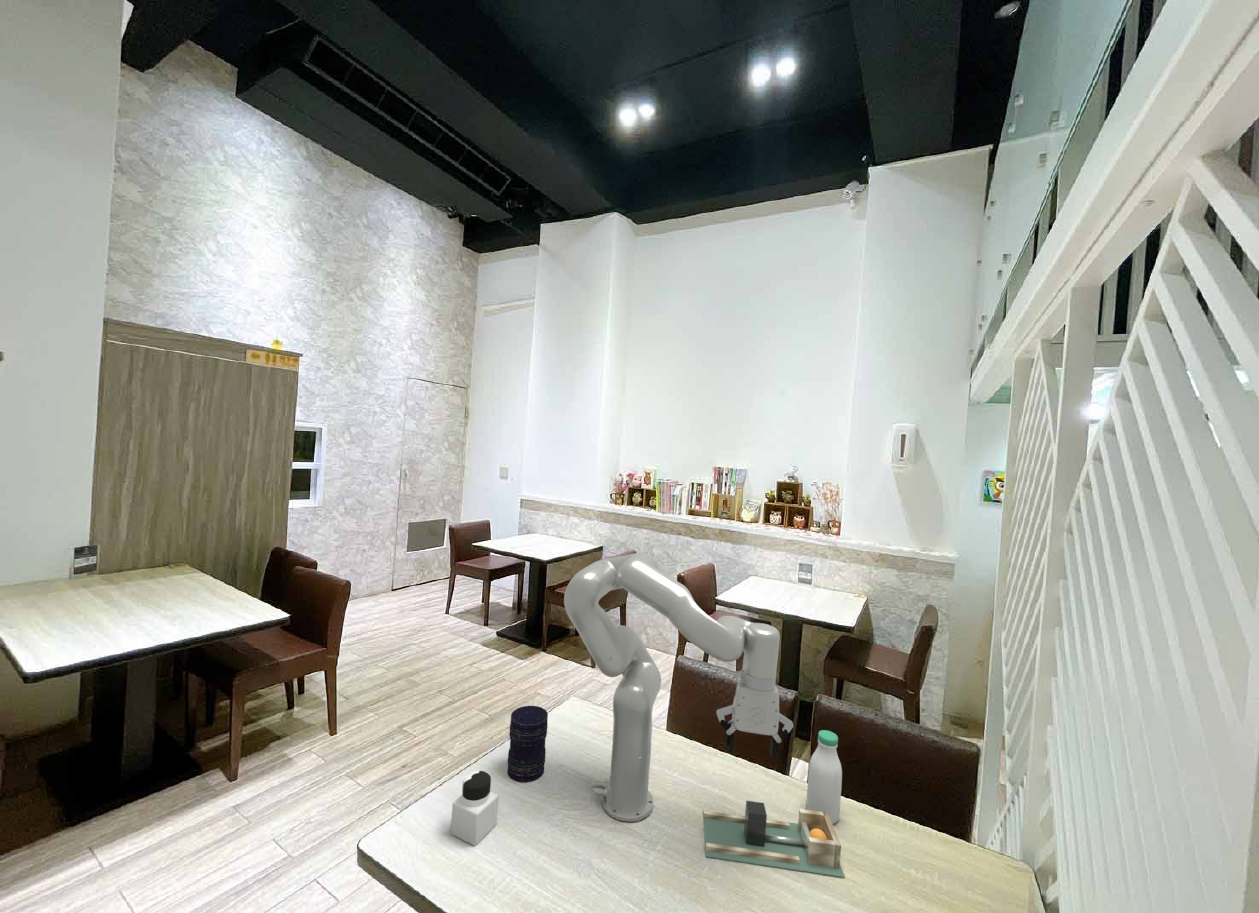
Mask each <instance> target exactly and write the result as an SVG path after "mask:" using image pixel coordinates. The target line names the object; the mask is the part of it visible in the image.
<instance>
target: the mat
mask: <svg viewBox="0 0 1259 913" xmlns="http://www.w3.org/2000/svg"><path fill="white" fill-rule="evenodd" d="M704 811H706V810H703V812H702V813H703V815H702V816H703V831H704V832H703V833H704V844H705V845H704V846H705V858H708V859H714V860H721V861H727V862H734V863H739V864H740V863H741V864H748V865H753V866H760V867H765V868H767V867H768V868H773V869H779V870H780V869H781V870H787V871H794V872H798V873H799V872H801V873H807V874H813V875H814V874H815V875H820V876H827V877H834V878H840V879H845V877H846V876H845V874H844V872H843V868H842V866H841V865H840V868H839V869H838V868H831V867H824V866H817V865H811V864H808V862H807V854H806V851H805V848H804V846H800V845H793V844H786V843H780V842H773V841H766V840H765V846H759V845H752V844H746V839H745V832H744V825H745V824H744V823H737V822H730V821H723V820H716V819H709V818H704ZM709 811H710V812H713V811H711V810H709ZM716 812H717V811H716ZM717 813H720V812H717ZM723 813H724V812H723ZM724 814H727V813H726V812H725V813H724ZM730 814H731V813H730ZM731 815H734V814H733V813H732V814H731ZM737 815H738V816H741V815H739V814H737ZM767 820H770V819H769V818H768V819H767ZM773 820H774V819H773ZM774 821H777V820H776V819H775V820H774ZM781 822H784V821H781ZM787 822H788V823H789V825H790V829H789V830H787V829H780V828H772V827H766V833H765V834H769V835H776V836H783V837H790V838H797V839H802V838H801V834H800V833H799V832H798V822H797V823H796V822H789V821H787ZM706 843H712V844H718V845H725V846H732V847H739V848H746V849H752V850H759V851H766V852H773V853H779V854H786V855H793V856H799V860H800V862H799V864H792V863H785V862H778V861H772V860H765V859H758V858H752V857H745V856H738V855H732V854H725V853H718V852H711V851H706Z"/></svg>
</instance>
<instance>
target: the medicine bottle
mask: <svg viewBox="0 0 1259 913" xmlns="http://www.w3.org/2000/svg"><path fill="white" fill-rule="evenodd" d="M491 783H492V777H491V775H490V774H489V772H487V771H484V770H475V771H472V772H469V773H467V774H466V775H465V776H464V778H463V779H462V788H461V795H460V796H458V798H456V799H455V800H454V801H452V803H451V804H452V808H451V821H450V822H451V824H450V834H451V835H452V836H454V837H457V838H458V839H460V840H462V841H465V843H468V844H470V845H472V846H474V847H475V846H477V845H478V844H479V843H480V842H481V840H483V839H484V838H485V837H486V836H487V835H488V834H490V832H492V830H493V829H494V828H496V826H497V823H498V822H497V820H498V807H499V806H498V805H499V794H497V793H495V792H493V791H491V787H492V784H491Z"/></svg>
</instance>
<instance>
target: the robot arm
mask: <svg viewBox="0 0 1259 913" xmlns="http://www.w3.org/2000/svg"><path fill="white" fill-rule="evenodd" d="M619 589H624V590H625V591H626V592H628V593H629V594H631V595H632V596H634V597H635V598H637V599H638V600H640V601H641V602H643V603H645V604H646V605H647V606H649V607H651V608H653V609H654V610H656V611H657V612H659V613H660V615H663V616H664V617H666V618H667V619H668V620H669V622H671V624H672V625H673V627H674V628H676V630H678V631H679V633H680V634H681V635H682V636H683V637H684V638H685V639H686V640H687V641H688V642H690V643H691V644H692V645H694V646H695V647H697V649H699V650H701V651H702V652H704V653H706V654H707V655H708V656H710V657H712V658H714V659H716V660H717V661H721V662H723V663H731V662H735V661H736V660H738V659H740V658H741V656H742V655H743V661H742V668H741V670H739V671H738V670H736V671H735V674H734V675H735V678H738V679H739V680H738V681H737V682H738V683H737V685H736V688H735V692H734V697H733V703H732V704H730V705H728V706H725V707H721V708H719V709H716V716H717V718H718V721H719V723H720V726H721V727H722V728H723V729H724V731H725V732H726V734H725V735H726V737H725V746H726V747H727V748H728V753H733V748H734V732H735V731H740V732H744V733H750V734H757V735H762V736H770V747H769V754H770V757H771V759H772V760H776V755H779V748H780V743H782V740H784V739H785V738H786V737H788V735H789V733H790V732H791V730H792V729H793V728H794V723H793V721H792V720H791V719H789V718H788V717H787V716H785V715H783V714H782V713H781V712H780V695H779V694H780V693H779V689H778V687H777V686H776V679H777V669H778V659H779V652H780V651H779V650H780V640H781V639H780V638H781V636H780V635H781V634H780V631H779V630H778V629H777V628H776V627H775V626H772V625H770V624H767V623H762V622H761V623H760V622H751V621H749V620H745V619H743V618H740V617H738V616H734V615H722V616H720V617H719V618H718V619H717V620H716V619H714V618H713V617H711V616H710V615H709V614H707V613H706V612H705V611H704V610H702V609H701V607H700V606H699V605H698V604H697V603H696V601H695V599H694V597H693V595H692V594H691V592H690V590H689V588H687V586H686V585H684V584H682V583H681V582H679V581H678V580H676V579H674V578H672V577H671V576H669V575H667V574H666V573H664V572H663V571H661V570H660V569H659V564H658V562H657V560H656V558H654V557H653V556H652V555H651V554H648V553H646V552H634V553H630V554H626V555H620V556H614V557H610V558H609V557H608V558H604V559H603V558H602V559H599V560H596V561H594V562H593V563H591V564H589V565H588V566H586V567H584V568H582V569H581V570H579V571H578V572H577V573H576V574H575V575H574V576H573V577H572V578H571V579H570V581H569V583H568V584H567V586H566V589H565V591H564V597H563V604H564V609H565V612H566V614H567V617H568V619H569V620H570V621H571V623H572V624H573V626H574V628H575V629H576V631H577V633H578V634H579V636H580V638H581V639H582V642H583V643H584V646H585V648H586V649H587V651H588V653H589V654H590V656H591V657H592V659H593V661H594V662H595V665H596V666H597V668H598V669H599V671H600V672H601V674H603V675H604V676H605V677H608V678H616V677H619V676H621V675H622V678H621V679H620V681H619V683H618V684H617V687H616V688H615V691H614V694H613V700H612V715H613V728H612V729H613V730H612V747H611V761H610V762H611V763H610V775H609V778H608V779H605V780H600V779H594V778H593V779H592V780H591V781H592V782H591V789H595V790H594V795H597V796H602V799H601V804H602V807H603V809H604V811H605V812H606V813H607V814H608V815H609V816H610V817H612V818H613V819H616V820H618V821H621V822H630V823H631V822H632V823H633V822H638V821H641V820H643V819H646V818H647V817H648V816H649V815H650V814H651V813H652V812H653V810H654V798H653V795H652V793H651V792H650V791H649V781H650V764H651V756H652V755H651V753H652V738H653V737H652V736H653V717H652V716H653V709H654V704H655V702H656V699H657V696H658V694H659V692H660V690H661V686H662V676H661V675H662V674H661V672H660V671H659V668H658V666H657V664H656V663H655V661H654V659H653V658H652V656H651V654H650V653H649V651H648V650H647V648H646V646H645V644H644V642H643V641H642V639H641V638H640V636H639V635H638V633H636V631H634V630H633V629H632V628H631V627H629V626H626V625H623V624H622V625H621V624H620V625H615V624H614V623H613V621H612V619H611V617H610V616H609V614H608V612H606V610H605V609H604V608H602V607H601V605H600V603H599V601H600V600H601V599H602V598H603V597H604V596H606V595H607V594H608V593H609V592H610V591H615V590H619ZM728 715H731V719H730V720H729V721H727V719H726V718H725V716H728ZM779 723H782V724H783V727H781V728H780V729H779Z"/></svg>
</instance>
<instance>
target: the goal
mask: <svg viewBox="0 0 1259 913" xmlns="http://www.w3.org/2000/svg"><path fill="white" fill-rule="evenodd" d="M798 810H799V811H798V822H797V824H798V832H799V833H800V834H801V823H802V822H806V824H807V827H808V830H809V833H810V831H811V830H812V829H815V828H817V829H820V830H822V831H823V832H824V833H825V835H826V837H827V840H825V839H818V838H811V837H809V839H808V852H807V862H808V864H811V865H817V866H824V867H831V868H838V869H839V868H840V866H841V854H842V853H841V852H842V851H841V850H842V844H841V842H840V840H839V837H838V835H837V832H836V830H835V827H834V824H832V822H831V819H830V817H829V814H828V813H827V812H820V811H813V810H806V808H805V809H803V808H799V809H798Z"/></svg>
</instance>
